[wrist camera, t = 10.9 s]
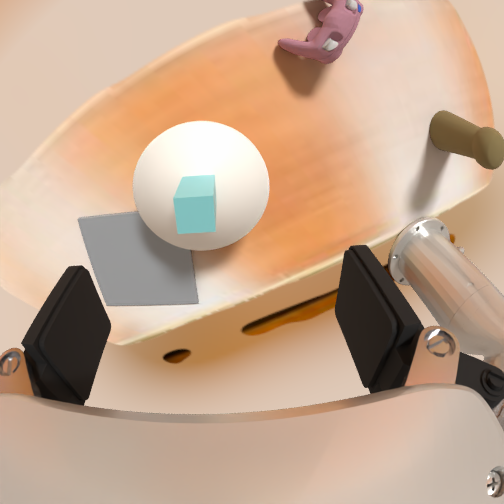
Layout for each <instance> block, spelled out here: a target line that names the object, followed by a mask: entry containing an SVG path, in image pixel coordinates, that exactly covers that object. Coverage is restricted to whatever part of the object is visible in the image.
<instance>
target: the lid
mask: <svg viewBox="0 0 504 504" xmlns="http://www.w3.org/2000/svg"><path fill="white" fill-rule="evenodd" d="M133 195H134V200H135V204H136V207H137V210H138V212H139V214H140V216H141V218H142V219H143V221H144V222H145V224H146V225H147V226H148V227H149V228H150V229H151V230H152V232H154V233H155V234H156V235H157V236H158V237H160V238H161V239H163V240H164V241H166V242H168V243H170V244H172V245H175V246H177V247H180V248H184V249H188V250H197V251H205V250H214V249H218V248H222V247H225V246H228V245H230V244H232V243H234V242H236V241H238V240H239V239H241V238H242V237H244V236H245V235H246V234H247V233H249V232H250V231H251V230H252V229H253V228H254V226H255V225H256V224H257V223H258V221H259V220H260V218H261V216H262V214H263V213H264V210H265V208H266V205H267V201H268V197H269V177H268V172H267V168H266V165H265V162H264V160H263V159H262V157H261V155H260V153H259V151H258V150H257V148H256V147H255V146H254V144H253V143H252V142H251V141H250V140H249V139H248V138H247V137H245V136H244V135H243V134H242V133H240V132H239V131H237V130H235V129H234V128H232V127H229V126H227V125H225V124H221V123H217V122H212V121H192V122H186V123H182V124H179V125H176V126H174V127H172V128H170V129H168V130H166V131H165V132H163V133H162V134H160V135H159V136H158V137H157V138H155V139H154V140H153V141H152V142H151V143H150V144H149V145H148V146H147V147H146V149H145V150H144V152H143V153H142V155H141V157H140V159H139V161H138V163H137V166H136V169H135V172H134V177H133Z"/></svg>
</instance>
